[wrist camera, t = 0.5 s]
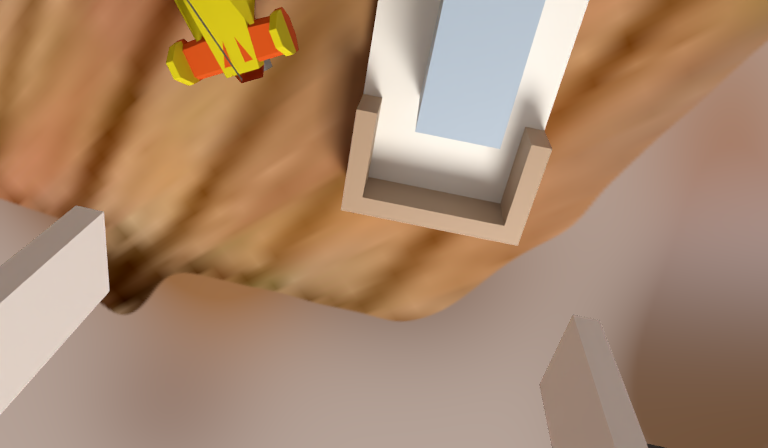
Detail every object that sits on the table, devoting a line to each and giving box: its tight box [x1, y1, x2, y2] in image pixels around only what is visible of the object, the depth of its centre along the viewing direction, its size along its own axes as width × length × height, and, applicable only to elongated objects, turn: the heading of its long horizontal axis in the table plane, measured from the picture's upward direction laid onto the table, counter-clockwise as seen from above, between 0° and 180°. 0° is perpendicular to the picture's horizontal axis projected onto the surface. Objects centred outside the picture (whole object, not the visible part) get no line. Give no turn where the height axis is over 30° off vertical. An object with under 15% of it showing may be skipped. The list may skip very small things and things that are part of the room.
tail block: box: [415, 0, 545, 149], centre depth 29 cm, size 9×4×6 cm, turn 170°
